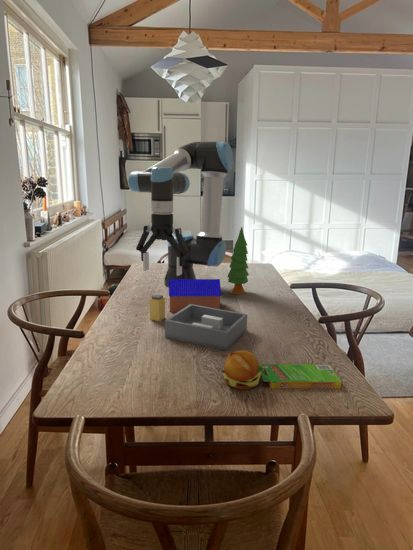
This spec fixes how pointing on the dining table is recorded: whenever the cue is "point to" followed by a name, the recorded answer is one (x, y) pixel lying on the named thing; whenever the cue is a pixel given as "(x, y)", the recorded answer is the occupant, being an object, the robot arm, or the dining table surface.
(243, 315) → the box
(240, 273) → the decorative tree
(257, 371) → the cheeseburger
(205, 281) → the house
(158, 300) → the yellow jar
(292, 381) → the game box
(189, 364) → the dining table surface
